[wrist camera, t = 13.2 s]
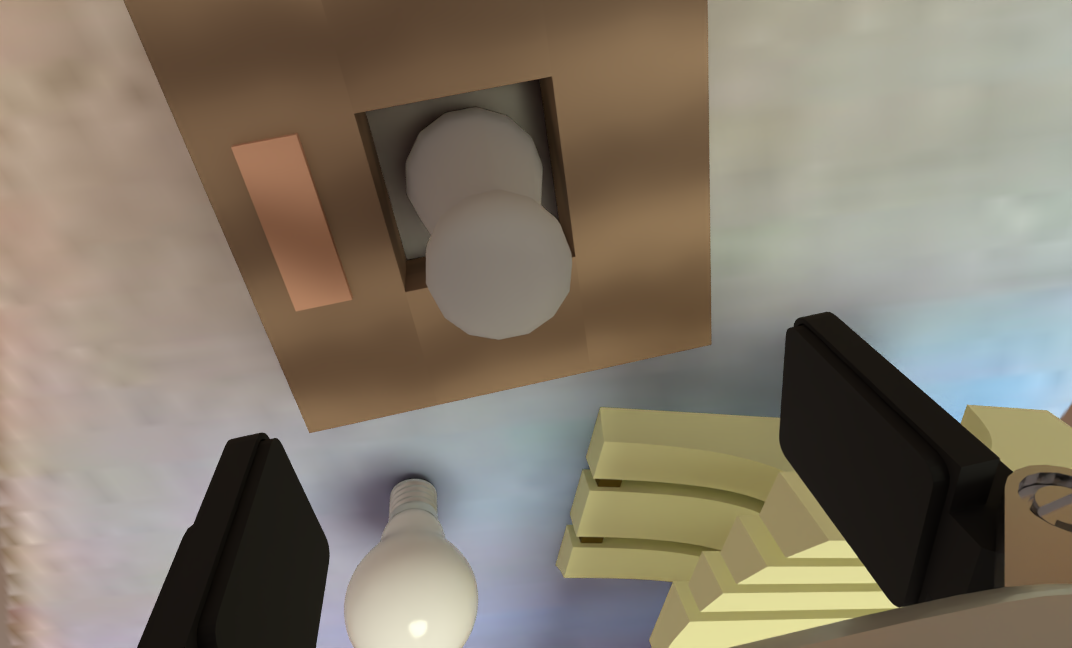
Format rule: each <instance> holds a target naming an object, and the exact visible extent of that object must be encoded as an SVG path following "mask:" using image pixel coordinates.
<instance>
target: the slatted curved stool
mask: <svg viewBox="0 0 1072 648" xmlns="http://www.w3.org/2000/svg"><path fill="white" fill-rule="evenodd" d="M961 425H962V426H964V427H965V428H966V429H967V430H968V431H969V432H971V433H972V434H973V435H974V436H975V437H976V438H977V439H979V440H980V441H981V442H982V443H983V444H984V445H986V446H987V447H988V448H989V449H990V450H991V451H992V452H994V453H995V454H996V455H997V456H998V457H999V458H1000V461H1001V462H1003V463H1004V464H1005V465H1006V466H1007V467H1008V468H1010V469H1011V470H1012V471H1013V472H1014V471H1015V470H1017V469H1020V468H1023V467H1026V466H1029V465H1052V466H1059V467H1066V468H1069V469H1072V427H1070V426H1069V425H1067V424H1066V423H1065V422H1063V421H1062V420H1060V419H1059V418H1057V417H1056V416H1054V415H1053V414H1052V413H1050V412H1049V411H1047V410H1033V409H1019V408H1005V407H991V406H977V405H967V407H966V410H965V412H964V415H963V418H962V421H961ZM779 429H780V418H774V417H757V416H741V415H724V414H707V413H691V412H674V411H657V410H641V409H624V408H607V407H600V409H599V413H598V416H597V420H596V424H595V427H594V431H593V434H592V438H591V441H590V445H589V448H588V452H587V455H586V459H587V462H588V465H589V468H590V469H582V473H581V477H580V480H579V484H578V487H577V491H576V494H575V498H574V501H573V505H572V508H571V512H570V516H571V520H572V524H573V525H567V526H566V529H565V533H564V537H563V540H562V544H561V547H560V551H559V554H558V558H557V561H556V566H557V567H558V568H559V570H560V571H561V573H562V575H563V577H564V578H618V579H643V580H657V581H668V582H673V583H672V585H671V588H670V590H669V593H668V595H667V597H666V600H665V602H664V605H663V607H662V610H661V612H660V614H659V617H658V619H657V622H656V624H655V627H654V629H653V632H652V634H651V636H650V639H649V641H650V644H651V647H652V648H729V647H734V646H738V645H742V644H746V643H750V642H755V641H759V640H763V639H767V638H771V637H776V636H780V635H784V634H788V633H793V632H797V631H801V630H805V629H809V628H814V627H818V626H822V625H826V624H831V623H835V622H839V621H843V620H847V619H852V618H856V617H860V616H864V615H869V614H873V613H878V612H883V611H887V610H892V609H896V608H899V607H896V606H895V605H893V604H892V603H891V602H890V600H889V599H888V598H887V597H886V595H885V594H884V593H883V591H882V590H881V588H880V587H879V586H878V584H877V583H876V582H875V580H874V579H873V577H872V576H871V575H870V573H869V572H868V571H867V569H866V568H865V566H864V565H863V564H862V562H861V561H860V559H859V558H858V557H857V555H856V554H855V553H854V551H853V550H852V548H851V547H850V546H849V544H848V543H847V542H846V540H845V539H844V537H843V536H842V535H841V533H840V532H839V531H838V529H837V528H836V526H835V525H834V524H833V522H832V521H831V520H830V518H829V517H828V515H827V514H826V513H825V511H824V510H823V509H822V507H821V506H820V504H819V503H818V502H817V500H816V499H815V497H814V496H813V495H812V493H811V492H810V491H809V489H808V488H807V486H806V485H805V484H804V482H803V481H802V480H801V478H800V477H799V475H798V474H797V473H796V471H795V470H794V469H793V467H792V466H791V464H790V463H789V462H788V460H787V459H786V458H785V456H784V454H783V452H782V450H781V447H780V442H779ZM900 608H901V607H900Z"/></svg>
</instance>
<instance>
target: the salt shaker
mask: <svg viewBox="0 0 1072 648" xmlns="http://www.w3.org/2000/svg"><path fill="white" fill-rule="evenodd" d="M542 174H543V165H542V162H541V160H540V157H539V155H538V152H537V149H536V147H535V144H534V142H533V139H532V137H531V136H530V135H529V134H527V133H526V132H525V131H524V130H523V129H522V128H521V127H520V126H519V125H517V124H516V123H515V122H514V121H513V120H512V119H511V118H510V117H508V116H507V115H503V114H500V113H496V112H493V111H489V110H486V109H482V108H479V107H472V108H467V109H461V110H456V111H451V112H446V113H444V114H443V115H442V116H440V117H439V118H438V119H436V120H435V121H434V122H432V123H431V124H430V125H429V126H427V127H426V128H425V129H423V130H422V131H421V132H420V133H419V134H418V137H417V139H416V141H415V143H414V145H413V147H412V150H411V152H410V154H409V156H408V158H407V161H406V194H407V196H408V198H409V200H410V202H411V203H412V205H413V207H414V209H415V211H416V213H417V214H418V216H419V218H420V220H421V221H422V223H423V224H424V226H425V227H426V229H427V230H428V232H429V233H430V235H431V237H430V239H429V241H428V243H427V247H426V285H427V287H428V289H429V291H430V293H431V295H432V296H433V298H434V300H435V302H436V303H437V305H438V307H439V309H440V310H441V312H442V314H443V316H444V317H445V318H446V319H447V320H449V321H450V322H451V323H453V324H454V325H456V326H457V327H459V328H460V329H461V330H463V331H464V332H466V333H467V334H469V335H473V336H479V337H485V338H491V339H497V340H500V339H505V338H510V337H515V336H520V335H525V334H529V333H530V332H532V331H533V330H535V329H536V328H538V327H539V326H540V325H542V324H543V323H545V322H546V321H548V320H549V319H550V318H552V317H553V316H554V315H555V313H556V312H557V310H558V309H559V307H560V305H561V304H562V302H563V301H564V299H565V298H566V296H567V295H568V293H569V291H570V281H571V270H572V255H571V251H570V248H569V245H568V243H567V240H566V238H565V235H564V233H563V230H562V227H561V225H560V223H559V222H558V221H557V219H556V218H555V217H554V216H553V215H552V214H551V213H549V212H548V211H547V210H546V209H544V208H543V207H542V206H541V192H542Z"/></svg>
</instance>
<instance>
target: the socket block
mask: <svg viewBox="0 0 1072 648" xmlns="http://www.w3.org/2000/svg"><path fill="white" fill-rule="evenodd" d="M124 2H125V5H126V7H127V9H128V12H129V14H130V16H131V19H132V21H133V23H134V26H135V28H136V30H137V33H138V35H139V37H140V40H141V42H142V44H143V47H144V49H145V51H146V54H147V56H148V58H149V61H150V63H151V65H152V68H153V70H154V72H155V75H156V77H157V79H158V82H159V84H160V86H161V89H162V91H163V93H164V96H165V98H166V100H167V103H168V105H169V107H170V110H171V112H172V114H173V116H174V119H175V121H176V123H177V126H178V128H179V130H180V133H181V135H182V137H183V140H184V142H185V144H186V147H187V149H188V151H189V154H190V156H191V158H192V161H193V163H194V165H195V168H196V170H197V172H198V175H199V177H200V179H201V182H202V184H203V186H204V189H205V191H206V193H207V196H208V198H209V200H210V203H211V205H212V207H213V210H214V212H215V214H216V217H217V219H218V221H219V224H220V226H221V228H222V230H223V233H224V235H225V237H226V240H227V242H228V244H229V247H230V249H231V251H232V254H233V256H234V258H235V261H236V263H237V265H238V268H239V270H240V272H241V275H242V277H243V279H244V282H245V284H246V286H247V289H248V291H249V293H250V296H251V298H252V300H253V303H254V305H255V307H256V310H257V312H258V314H259V317H260V319H261V321H262V324H263V326H264V328H265V331H266V333H267V335H268V338H269V340H270V342H271V344H272V347H273V349H274V351H275V354H276V356H277V358H278V361H279V363H280V365H281V368H282V370H283V372H284V375H285V377H286V379H287V382H288V384H289V386H290V389H291V391H292V393H293V396H294V398H295V400H296V403H297V405H298V407H299V410H300V412H301V414H302V417H303V419H304V421H305V424H306V426H307V428H308V431H309V433H312V432H317V431H321V430H326V429H331V428H335V427H340V426H344V425H349V424H353V423H358V422H362V421H367V420H371V419H376V418H380V417H385V416H390V415H394V414H399V413H403V412H408V411H412V410H417V409H421V408H426V407H430V406H435V405H439V404H444V403H449V402H453V401H458V400H462V399H467V398H471V397H476V396H480V395H485V394H489V393H494V392H498V391H503V390H508V389H512V388H517V387H521V386H526V385H530V384H535V383H539V382H544V381H548V380H553V379H557V378H562V377H567V376H571V375H576V374H580V373H585V372H589V371H594V370H598V369H603V368H607V367H612V366H616V365H621V364H626V363H630V362H635V361H639V360H644V359H648V358H653V357H657V356H662V355H666V354H671V353H675V352H680V351H685V350H689V349H694V348H698V347H703V346H707V345H711V265H710V179H709V93H708V7H707V0H124ZM536 79H539V81H540V88H541V95H542V102H543V109H544V116H545V124H546V131H547V138H548V145H549V152H550V159H551V166H552V174H553V181H554V188H555V195H556V202H557V209H558V216H559V223H560V225H561V227H562V230H563V233H564V235H565V238H566V240H567V243H568V245H569V248H570V251H571V255H572V270H571V281H570V291H569V293H568V295H567V296H566V298H565V299H564V301H563V302H562V304H561V305H560V307H559V309H558V310H557V312H556V313H555V315H554V316H553V317H552V318H550V319H549V320H548V321H546V322H545V323H543V324H542V325H540V326H539V327H538V328H536V329H535V330H533V331H532V332H530V333H529V334H525V335H520V336H515V337H510V338H505V339H500V340H497V339H491V338H485V337H479V336H473V335H469V334H467V333H466V332H464V331H463V330H461V329H460V328H459V327H457V326H456V325H454V324H453V323H451V322H450V321H449V320H447V319H446V318H445V317H444V316H443V314H442V312H441V310H440V309H439V307H438V305H437V303H436V302H435V300H434V298H433V296H432V295H431V293H430V291H429V289H428V287H427V285H426V257H422V258H417V259H412V260H406V256H405V253H404V249H403V246H402V242H401V238H400V235H399V231H398V228H397V224H396V220H395V217H394V213H393V210H392V206H391V203H390V199H389V195H388V192H387V188H386V185H385V181H384V177H383V174H382V170H381V167H380V163H379V160H378V156H377V152H376V149H375V145H374V142H373V138H372V134H371V131H370V127H369V124H368V120H367V117H366V113H365V112H366V111H371V110H376V109H382V108H387V107H392V106H398V105H403V104H408V103H413V102H419V101H424V100H429V99H435V98H440V97H445V96H451V95H456V94H461V93H467V92H472V91H477V90H482V89H488V88H493V87H498V86H504V85H509V84H514V83H520V82H525V81H530V80H536Z"/></svg>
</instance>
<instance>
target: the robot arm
mask: <svg viewBox="0 0 1072 648" xmlns="http://www.w3.org/2000/svg"><path fill="white" fill-rule="evenodd" d="M779 442H780V447H781V450H782V452H783V454H784V456H785V458H786V459H787V460H788V462H789V463H790V464H791V466H792V467H793V469H794V470H795V471H796V473H797V474H798V475H799V477H800V478H801V480H802V481H803V482H804V484H805V485H806V486H807V488H808V489H809V491H810V492H811V493H812V495H813V496H814V497H815V499H816V500H817V502H818V503H819V504H820V506H821V507H822V509H823V510H824V511H825V513H826V514H827V515H828V517H829V518H830V520H831V521H832V522H833V524H834V525H835V526H836V528H837V529H838V531H839V532H840V533H841V535H842V536H843V537H844V539H845V540H846V542H847V543H848V544H849V546H850V547H851V548H852V550H853V551H854V553H855V554H856V555H857V557H858V558H859V559H860V561H861V562H862V564H863V565H864V566H865V568H866V569H867V571H868V572H869V573H870V575H871V576H872V577H873V579H874V580H875V582H876V583H877V584H878V586H879V587H880V588H881V590H882V591H883V593H884V594H885V595H886V597H887V598H888V599H889V600H890V602H891V603H892V604H893V605H895V606H896V607H899V608H896V609H892V610H887V611H883V612H878V613H873V614H869V615H864V616H860V617H856V618H852V619H847V620H843V621H839V622H835V623H831V624H826V625H822V626H818V627H814V628H809V629H805V630H801V631H797V632H793V633H788V634H784V635H780V636H776V637H771V638H767V639H763V640H759V641H755V642H750V643H746V644H742V645H738V646H734V647H729V648H1072V469H1069V468H1066V467H1059V466H1052V465H1029V466H1026V467H1023V468H1020V469H1017V470H1015V471H1014V472H1013V471H1012V470H1011V469H1010V468H1008V467H1007V466H1006V465H1005V464H1004V463H1003V462H1001V461H1000V458H999V457H998V456H997V455H996V454H995V453H994V452H992V451H991V450H990V449H989V448H988V447H987V446H986V445H984V444H983V443H982V442H981V441H980V440H979V439H977V438H976V437H975V436H974V435H973V434H972V433H971V432H969V431H968V430H967V429H966V428H965V427H964V426H962V425H961V424H960V423H959V422H958V421H957V420H956V419H954V418H953V417H952V416H951V415H950V414H949V413H947V412H946V411H945V410H944V409H943V408H942V407H941V406H939V405H938V404H937V403H936V402H935V401H934V400H932V399H931V398H930V397H929V396H928V395H927V394H926V393H924V392H923V391H922V390H921V389H920V388H919V387H917V386H916V385H915V384H914V383H913V382H912V381H911V380H909V379H908V378H907V377H906V376H905V375H904V374H902V373H901V372H900V371H899V370H898V369H897V368H896V367H894V366H893V365H892V364H891V363H890V362H889V361H887V360H886V359H885V358H884V357H883V356H882V355H881V354H879V353H878V352H877V351H876V350H875V349H874V348H872V347H871V346H870V345H869V344H868V343H867V342H866V341H864V340H863V339H862V338H861V337H860V336H859V335H857V334H856V333H855V332H854V331H853V330H852V329H851V328H849V327H848V326H847V325H846V324H845V323H844V322H842V321H841V320H840V319H839V318H838V317H837V316H835V315H834V314H833V313H831V312H824V313H819V314H815V315H810V316H805V317H801V318H798V319H797V320H796V321H795V323H794V327H791V328H789V329H788V330H787V332H786V341H785V356H784V370H783V385H782V400H781V414H780V429H779ZM329 557H330V556H329V545H328V541H327V539H326V536H325V534H324V532H323V530H322V528H321V526H320V524H319V522H318V519H317V517H316V515H315V513H314V511H313V509H312V507H311V505H310V503H309V501H308V498H307V496H306V494H305V492H304V490H303V488H302V486H301V484H300V482H299V479H298V477H297V475H296V473H295V471H294V469H293V467H292V465H291V463H290V460H289V458H288V456H287V454H286V452H285V450H284V448H283V446H282V444H281V442H280V440H278V439H277V438H273V439H269V437H268V436H267V435H266V434H265V433H258V434H253V435H248V436H244V437H239V438H234V439H231V440H229V441H228V442H227V444H226V445H225V448H224V450H223V453H222V455H221V458H220V460H219V462H218V465H217V467H216V470H215V472H214V475H213V477H212V480H211V482H210V485H209V487H208V490H207V492H206V495H205V497H204V500H203V502H202V504H201V507H200V509H199V512H198V514H197V517H196V519H195V522H194V524H193V525H192V526H191V527H190V528H188V529H187V531H186V533H185V534H184V536H183V538H182V541H181V543H180V545H179V548H178V550H177V553H176V555H175V558H174V560H173V562H172V565H171V567H170V570H169V572H168V574H167V577H166V579H165V582H164V584H163V587H162V589H161V591H160V594H159V596H158V599H157V601H156V603H155V606H154V608H153V611H152V613H151V615H150V618H149V620H148V623H147V625H146V628H145V630H144V632H143V635H142V637H141V640H140V642H139V644H138V647H137V648H316V642H317V636H318V630H319V623H320V617H321V610H322V604H323V597H324V591H325V585H326V578H327V572H328V565H329ZM900 607H901V608H900Z"/></svg>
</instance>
